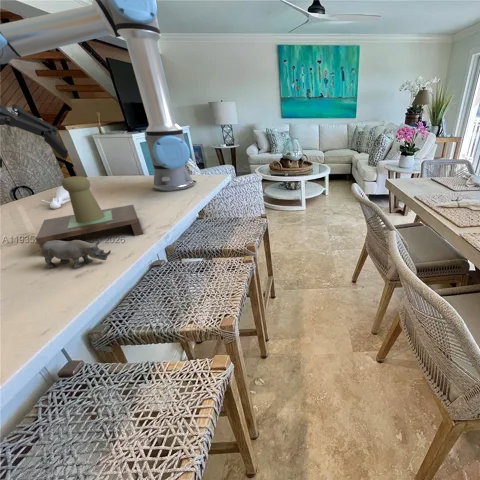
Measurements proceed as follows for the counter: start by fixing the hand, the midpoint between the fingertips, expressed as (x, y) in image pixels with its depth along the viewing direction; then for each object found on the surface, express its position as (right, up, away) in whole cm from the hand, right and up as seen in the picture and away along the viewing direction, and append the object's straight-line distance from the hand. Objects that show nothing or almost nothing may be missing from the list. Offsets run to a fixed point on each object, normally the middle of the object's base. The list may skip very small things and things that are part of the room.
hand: (35, 158), depth 67 cm
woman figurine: (-22, -7, +30) cm, 37 cm away
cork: (+12, -15, +3) cm, 19 cm away
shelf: (+12, -19, +5) cm, 23 cm away
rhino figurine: (+20, -26, -8) cm, 34 cm away
